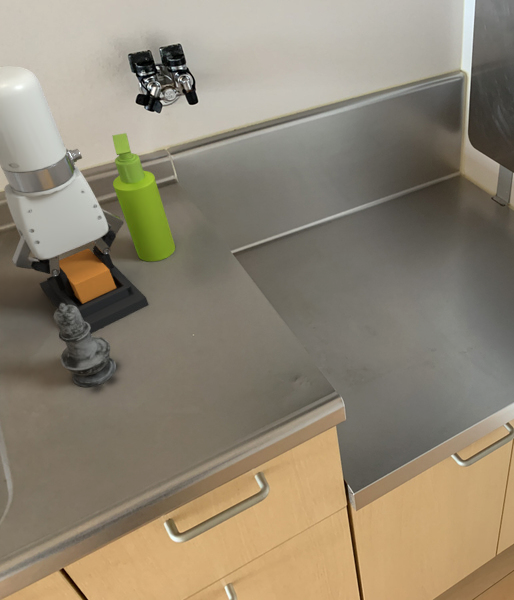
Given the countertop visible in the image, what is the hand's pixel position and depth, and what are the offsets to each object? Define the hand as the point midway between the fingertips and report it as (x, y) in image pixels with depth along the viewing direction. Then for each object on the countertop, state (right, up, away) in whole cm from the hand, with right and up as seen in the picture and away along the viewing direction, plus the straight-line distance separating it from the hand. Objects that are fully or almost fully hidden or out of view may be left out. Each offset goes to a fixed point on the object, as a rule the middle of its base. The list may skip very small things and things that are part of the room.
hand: (87, 281), depth 89 cm
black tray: (0, -2, +2) cm, 3 cm away
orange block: (0, 0, 0) cm, 1 cm away
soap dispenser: (+6, +5, +11) cm, 13 cm away
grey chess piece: (+5, -12, -9) cm, 16 cm away
